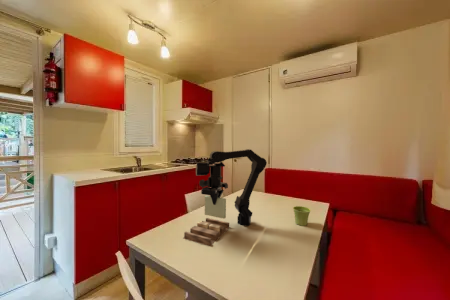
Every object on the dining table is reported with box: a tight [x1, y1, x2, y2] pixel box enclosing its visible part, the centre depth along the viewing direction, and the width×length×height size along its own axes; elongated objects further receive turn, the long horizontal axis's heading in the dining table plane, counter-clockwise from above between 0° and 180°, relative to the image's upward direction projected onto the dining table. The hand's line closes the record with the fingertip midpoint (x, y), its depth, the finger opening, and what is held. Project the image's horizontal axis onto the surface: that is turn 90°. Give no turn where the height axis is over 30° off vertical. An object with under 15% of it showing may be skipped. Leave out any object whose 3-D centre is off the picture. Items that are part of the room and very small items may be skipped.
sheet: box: [204, 195, 227, 220], centre depth 99 cm, size 12×2×10 cm, turn 64°
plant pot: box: [292, 205, 312, 227], centre depth 107 cm, size 9×9×9 cm
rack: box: [182, 217, 231, 247], centre depth 93 cm, size 15×21×3 cm
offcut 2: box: [209, 224, 220, 234], centre depth 92 cm, size 5×2×4 cm, turn 64°
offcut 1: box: [196, 220, 208, 229], centre depth 95 cm, size 5×2×4 cm, turn 64°
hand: (215, 204), depth 99 cm, fingers closed on sheet, 2 cm apart
